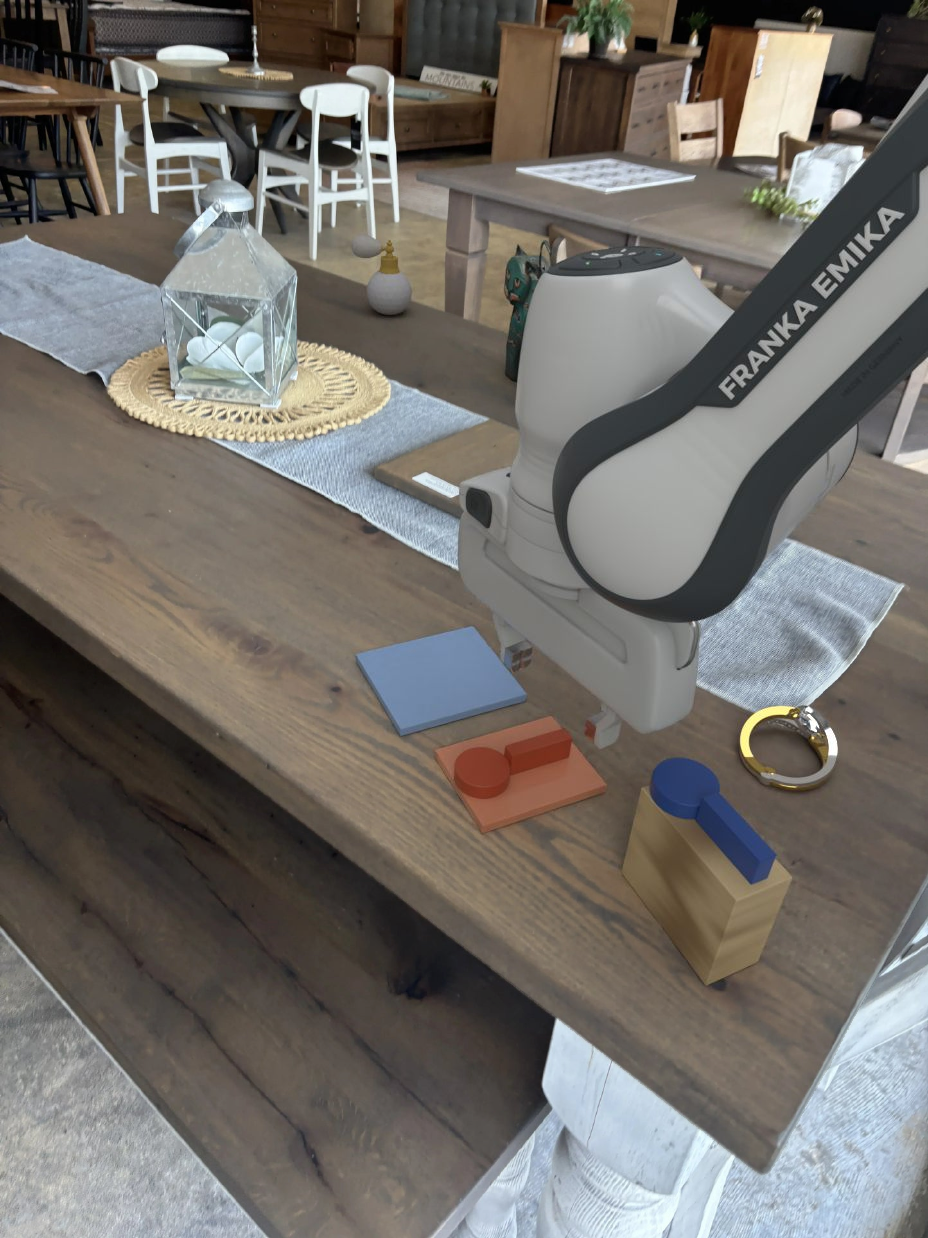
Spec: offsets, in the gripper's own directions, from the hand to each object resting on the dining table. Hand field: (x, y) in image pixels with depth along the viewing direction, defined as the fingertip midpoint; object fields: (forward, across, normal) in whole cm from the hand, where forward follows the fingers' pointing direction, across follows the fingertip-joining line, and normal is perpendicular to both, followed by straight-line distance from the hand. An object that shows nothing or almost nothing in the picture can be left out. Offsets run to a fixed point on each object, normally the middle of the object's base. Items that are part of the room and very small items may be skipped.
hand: (555, 700), depth 63 cm
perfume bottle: (+6, +99, -44) cm, 108 cm away
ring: (+6, -10, -12) cm, 17 cm away
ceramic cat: (+7, +58, -45) cm, 74 cm away
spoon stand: (+7, -15, 0) cm, 16 cm away
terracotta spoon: (+6, +1, +2) cm, 6 cm away
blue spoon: (-1, -15, 0) cm, 15 cm away
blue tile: (+7, +13, +1) cm, 14 cm away
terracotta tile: (+7, +1, +2) cm, 7 cm away
